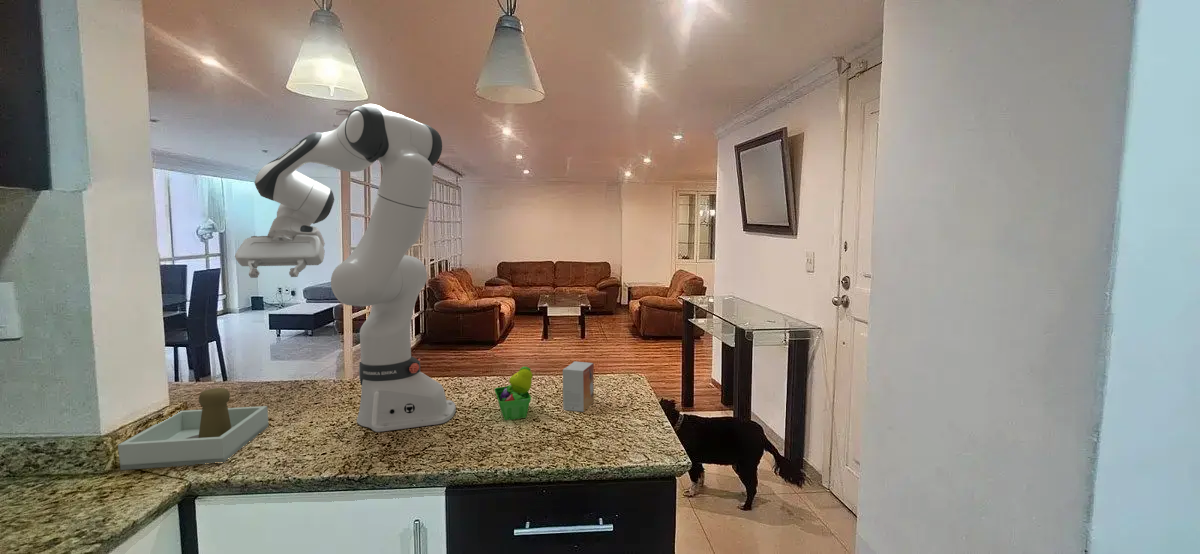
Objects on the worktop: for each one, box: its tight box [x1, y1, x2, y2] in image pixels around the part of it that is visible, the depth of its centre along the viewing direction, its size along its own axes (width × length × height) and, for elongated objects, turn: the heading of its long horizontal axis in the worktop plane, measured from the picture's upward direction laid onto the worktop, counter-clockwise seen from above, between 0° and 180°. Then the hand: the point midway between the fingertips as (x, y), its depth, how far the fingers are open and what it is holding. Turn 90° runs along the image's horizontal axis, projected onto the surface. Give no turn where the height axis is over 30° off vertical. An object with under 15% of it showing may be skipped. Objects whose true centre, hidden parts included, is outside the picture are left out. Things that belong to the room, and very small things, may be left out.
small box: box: [562, 361, 595, 413], centre depth 130 cm, size 8×6×10 cm
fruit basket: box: [494, 366, 533, 421], centre depth 126 cm, size 11×9×11 cm
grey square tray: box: [117, 405, 270, 471], centre depth 108 cm, size 18×18×5 cm
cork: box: [198, 387, 232, 438], centre depth 107 cm, size 6×6×11 cm
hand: (273, 276), depth 130 cm, fingers open, 8 cm apart
